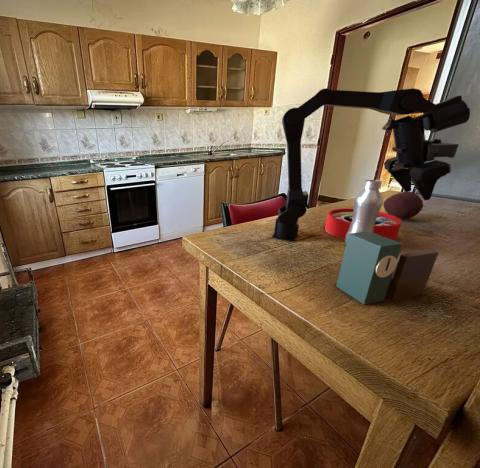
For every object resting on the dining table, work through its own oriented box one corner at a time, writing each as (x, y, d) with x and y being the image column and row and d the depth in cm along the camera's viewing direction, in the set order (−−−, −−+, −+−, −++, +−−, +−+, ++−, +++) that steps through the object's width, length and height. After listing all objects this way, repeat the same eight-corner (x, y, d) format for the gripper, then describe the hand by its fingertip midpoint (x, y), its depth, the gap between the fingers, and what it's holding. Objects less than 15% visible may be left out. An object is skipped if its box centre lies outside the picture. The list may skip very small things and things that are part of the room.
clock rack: (349, 276, 62) (359, 238, 59) (376, 271, 64) (387, 234, 60) (392, 300, 53) (407, 257, 50) (422, 294, 55) (439, 252, 51)
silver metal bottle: (362, 254, 73) (381, 184, 66) (338, 246, 78) (353, 180, 71) (375, 249, 76) (394, 181, 68) (350, 241, 81) (366, 178, 74)
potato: (373, 217, 102) (380, 192, 98) (391, 212, 107) (399, 188, 103) (406, 225, 93) (415, 197, 89) (425, 219, 98) (435, 193, 94)
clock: (335, 286, 58) (348, 233, 54) (354, 283, 59) (368, 231, 55) (365, 306, 52) (383, 247, 47) (386, 302, 53) (405, 244, 48)
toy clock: (332, 205, 99) (399, 213, 88) (329, 220, 101) (395, 229, 90) (324, 219, 84) (404, 230, 73) (320, 235, 87) (398, 249, 75)
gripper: (479, 127, 55) (483, 194, 60) (427, 126, 72) (433, 178, 76) (414, 148, 60) (422, 208, 64) (379, 142, 76) (387, 191, 80)
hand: (417, 195), depth 71 cm, fingers open, 9 cm apart
